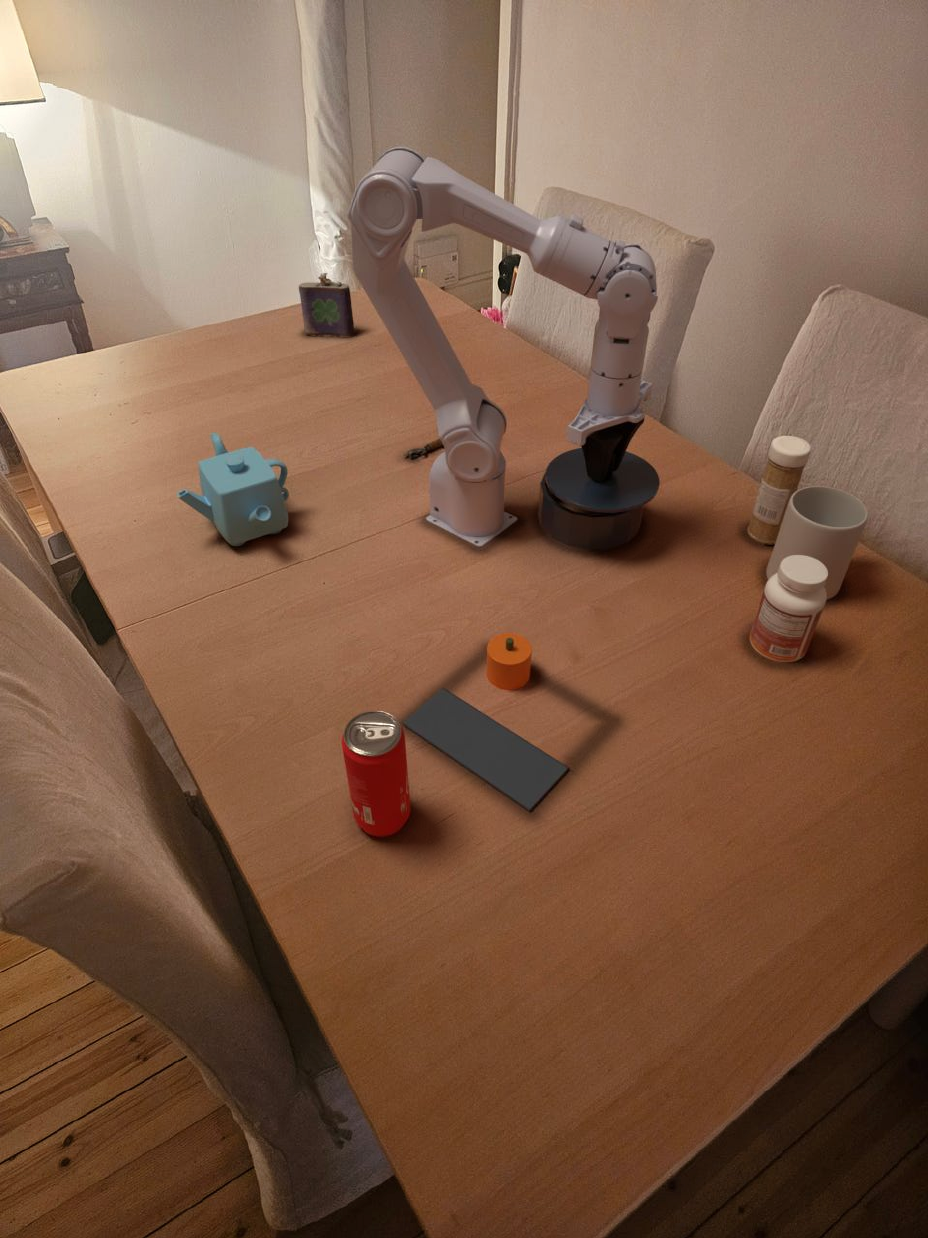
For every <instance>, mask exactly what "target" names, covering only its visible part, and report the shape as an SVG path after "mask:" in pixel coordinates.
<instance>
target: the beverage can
mask: <svg viewBox="0 0 928 1238" xmlns="http://www.w3.org/2000/svg"><path fill="white" fill-rule="evenodd" d="M406 746H407V745H406V734H405V731H404V729H403V727H402V726H401V724H400V722H399V720H398V719H397V718H396V717H395V716H393V715H392V713H391V714H390V713H389V712H387V711H382V710H368V711H363V712H361V713H359V714H357V715H355V716H354V717H352V718H351V719H350V720H349V721H348V722H347V724H346V726H345V728H344V730H343V734H342V736H341V748H342V753H343V760H344V761H343V762H344V766H345V771H346V772H345V773H346V779H347V784H348V791H349V797H350V804H351V809H352V810H351V811H352V815H353V819H354V821H355V823H356V825H358V827H359V828H361V829H362V830H363V831H364V833H366V834H368V835H370V836H372V837H374V838H375V837H377V838H386V837H390V836H392V835H395V834H396V833H398V832H399V831H400V830H401V829H403V827H404V826H405V824H406V822H407V821H408V819H409V817H410V813H411V797H410V782H409V772H408V771H409V770H408V759H407V747H406Z"/></svg>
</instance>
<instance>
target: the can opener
mask: <svg viewBox="0 0 928 1238" xmlns="http://www.w3.org/2000/svg"><path fill="white" fill-rule="evenodd" d="M441 446H444V445H443V443H442V442H441V440H440V438H438V439H437V440H434V441H431V442H429V443H426V444H425V445H424V447H421V448H420V447H417V448H416V447H415V448H413V449H410V450H407V451H406V452H405V453H404V454H403V456H404V457H405V456H407V455H408V457H409V458H410V459H414V458H415V457H416V456H417V455H418V454H420V455H424V454H426V453H427V452H429V451H432V450H434V449H437V448H440V447H441Z"/></svg>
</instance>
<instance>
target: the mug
mask: <svg viewBox="0 0 928 1238" xmlns="http://www.w3.org/2000/svg"><path fill="white" fill-rule="evenodd" d="M868 518H869V510H868V509H867V507H866V504H865V502H863V501H862V500H861V499H859V498H858V497H856V496H855V495H853V494H851V493H849V492H847V491H845V490H842V489H839V488H836V487H831V486H823V485H812V486H806V487H802V488H800V489H799V488H798V489H797V491H796V492H795V493H794V494H793V495H792V496H791V498H790V500H789V503H788V506H787V509H786V512H785V515H784V518H783V521H782V524H781V528H780V531H779V534H778V537H777V540H776V543H775V544H774V547H773V549H772V553H771V555H770V558H769V560H768V563H767V566H766V570H765V573H766V574H765V575H766V578H767V581H768V580H769V579H770V578H771V577H772V576H773V575H774V574H776V573H778V570H779V567H780V564H781V562H782V560H783V559H785V558H786V557H789V556H792V555H804V556H809V557H812V558H814V559H817V560H818V561H820V562H821V563H823V564H824V565H825V567H826V568H827V570H828V577H827V580H826V583H825V586H824V588H825V590H826V594H827V599H826V601H827V600H830V599H833V598H834V597H835V596H837V594H838V593H839V591H840V589H841V587H842V584H843V581H844V578H845V576H846V573H847V571H848V568H849V566H850V564H851V561H852V558H853V556H854V554H855V552H856V549H857V546H858V545H859V541H860V540H861V537H862V534H863V532H864V529H865V527H866V524H867V522H868Z"/></svg>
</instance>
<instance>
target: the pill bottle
mask: <svg viewBox="0 0 928 1238" xmlns="http://www.w3.org/2000/svg"><path fill="white" fill-rule="evenodd" d="M827 577H828V570H827V568H826V567H825V565H824V564H823V563H821V562H820V561H818V560H817V559H814V558H812V557H809V556H804V555H792V556H789V557H786V558H785V559H783V560H782V562H781V564H780V567H779V570H778V573H776V574H774V575H773V576H772V577H771V578H770V579H769V580H768V579H767V582H766V583H765V585H764V589H763V591H762V595H761V598H760V600H759V604H758V608H757V611H756V615H755V618H754V620H753V623H752V626H751V630H750V635H749V641H750V644H751V647H752V648H753V649H754V650H755V651H756V652H757V653H758V654H760V655H761V656H763V657H765V658H766V659H769V660H772V661H775V662H780V663H793V662H796V661H798V660H800V659H802V658H803V657H804V656H805V655H806V653H807V651H808V649H809V647H810V644H811V642H812V639H813V636H814V634H815V631H816V629H817V626H818V623H819V621H820V619H821V616H822V613H823V611H824V608H825V605H826V603H827V600H828V599H827V594H826V590H825V588H824V586H825V583H826V580H827ZM826 599H827V600H826Z"/></svg>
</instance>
